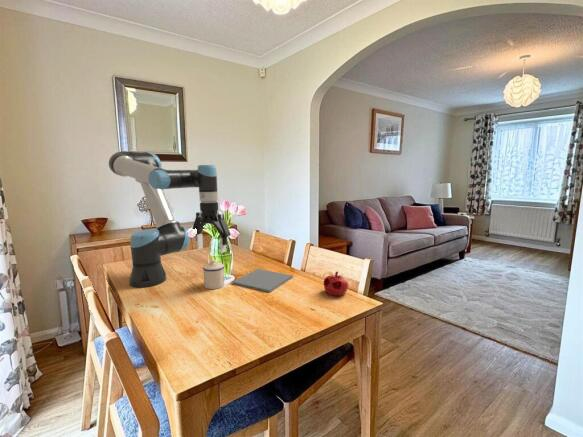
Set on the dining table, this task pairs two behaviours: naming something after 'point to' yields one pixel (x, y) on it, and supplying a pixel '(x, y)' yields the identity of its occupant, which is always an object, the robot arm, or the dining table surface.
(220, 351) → the dining table surface
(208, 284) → the teacup with lid
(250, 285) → the slate tile
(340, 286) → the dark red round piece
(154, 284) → the robot arm
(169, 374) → the dining table surface
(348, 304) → the dining table surface
